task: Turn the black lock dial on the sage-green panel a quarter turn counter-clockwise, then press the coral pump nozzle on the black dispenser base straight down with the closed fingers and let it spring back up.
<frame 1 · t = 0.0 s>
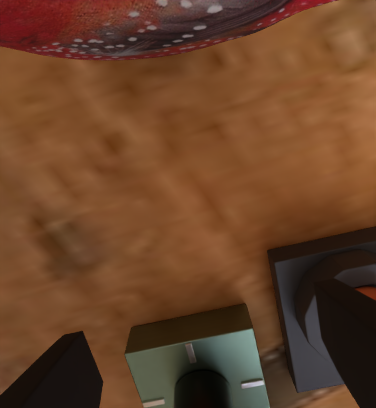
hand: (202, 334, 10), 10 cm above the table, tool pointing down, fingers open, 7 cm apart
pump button: (370, 325, 17), point 4 cm above the table, slide at 0.1 cm
decorative bird figurine: (187, 36, 16), on the table
dial panel: (203, 372, 23), on the table
dispenser base: (337, 303, 21), on the table
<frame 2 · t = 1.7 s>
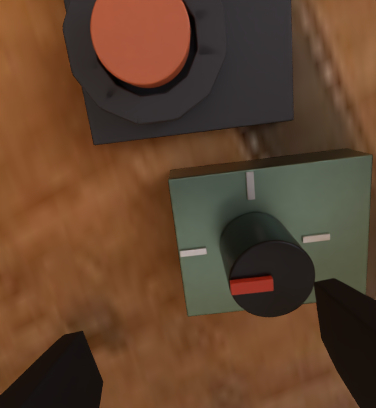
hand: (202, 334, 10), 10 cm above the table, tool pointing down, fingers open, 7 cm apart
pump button: (143, 37, 12), point 4 cm above the table, slide at 0.1 cm
dial panel: (261, 225, 19), on the table
lock dial: (263, 262, 14), point 4 cm above the table, hinge at 0.0°
dispenser base: (183, 50, 16), on the table
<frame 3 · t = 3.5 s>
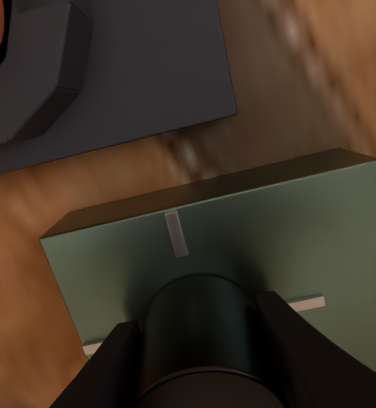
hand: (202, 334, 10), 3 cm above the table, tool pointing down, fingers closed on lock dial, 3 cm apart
dial panel: (222, 276, 12), on the table
lock dial: (204, 374, 8), point 5 cm above the table, hinge at 0.0°, touching gripper
dispenser base: (47, 23, 10), on the table
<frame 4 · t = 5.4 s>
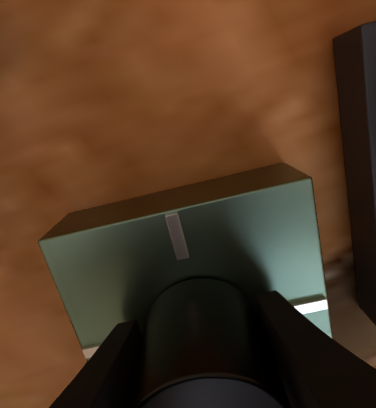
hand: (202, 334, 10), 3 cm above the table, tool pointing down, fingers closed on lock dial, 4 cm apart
dial panel: (204, 305, 13), on the table
lock dial: (206, 378, 8), point 5 cm above the table, hinge at 90.4°, touching gripper
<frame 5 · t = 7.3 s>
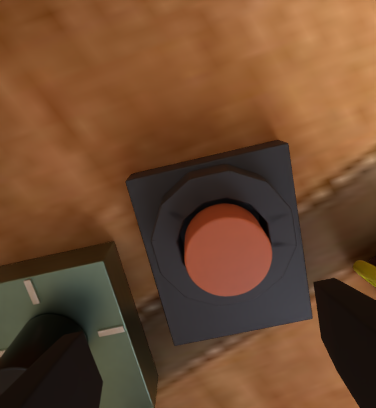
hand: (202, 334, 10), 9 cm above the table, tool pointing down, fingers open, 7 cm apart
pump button: (225, 248, 14), point 4 cm above the table, slide at 0.1 cm
dial panel: (76, 326, 20), on the table
lock dial: (38, 370, 15), point 5 cm above the table, hinge at 90.3°
dispenser base: (222, 241, 18), on the table
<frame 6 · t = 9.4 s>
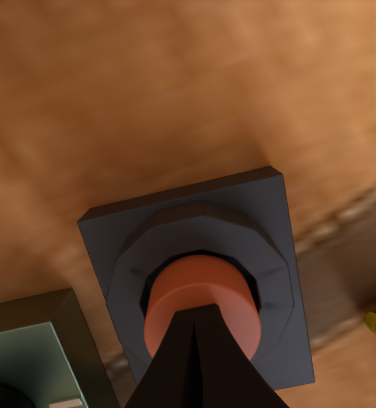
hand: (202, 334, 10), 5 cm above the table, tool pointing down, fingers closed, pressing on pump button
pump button: (201, 315, 10), point 4 cm above the table, slide at 0.1 cm, touching gripper
dial panel: (32, 384, 16), on the table
dispenser base: (204, 287, 15), on the table
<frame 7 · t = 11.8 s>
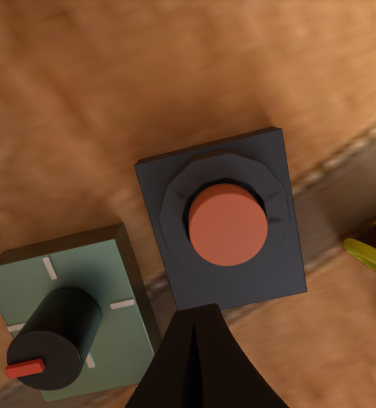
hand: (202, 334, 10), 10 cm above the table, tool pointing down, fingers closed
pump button: (225, 223, 15), point 4 cm above the table, slide at 0.1 cm
dial panel: (89, 303, 21), on the table
lock dial: (57, 338, 17), point 4 cm above the table, hinge at 90.3°
dispenser base: (222, 222, 20), on the table
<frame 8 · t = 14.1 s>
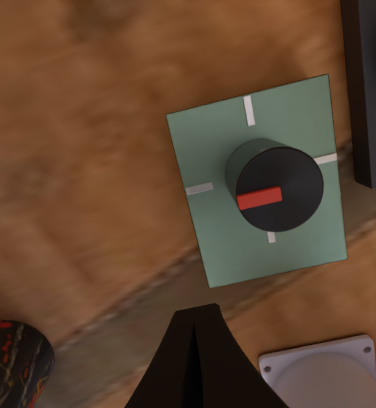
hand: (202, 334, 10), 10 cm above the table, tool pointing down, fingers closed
deodorant: (14, 353, 23), on the table
dial panel: (253, 181, 19), on the table
lock dial: (269, 182, 14), point 5 cm above the table, hinge at 90.3°
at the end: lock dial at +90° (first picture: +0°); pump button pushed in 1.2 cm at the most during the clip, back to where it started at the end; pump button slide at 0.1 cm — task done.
